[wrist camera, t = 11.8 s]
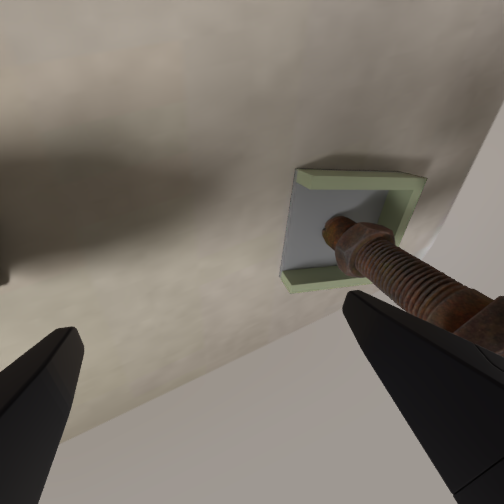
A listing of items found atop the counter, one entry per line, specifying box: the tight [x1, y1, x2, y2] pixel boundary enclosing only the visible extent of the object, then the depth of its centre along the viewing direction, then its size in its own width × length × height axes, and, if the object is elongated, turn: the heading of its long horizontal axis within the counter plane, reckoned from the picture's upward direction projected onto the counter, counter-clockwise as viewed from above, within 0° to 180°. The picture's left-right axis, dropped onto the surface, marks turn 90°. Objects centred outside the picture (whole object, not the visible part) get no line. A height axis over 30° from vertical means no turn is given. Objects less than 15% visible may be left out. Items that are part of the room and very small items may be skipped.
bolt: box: [322, 216, 504, 357], centre depth 17 cm, size 6×5×15 cm
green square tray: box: [279, 169, 427, 294], centre depth 22 cm, size 11×11×3 cm
